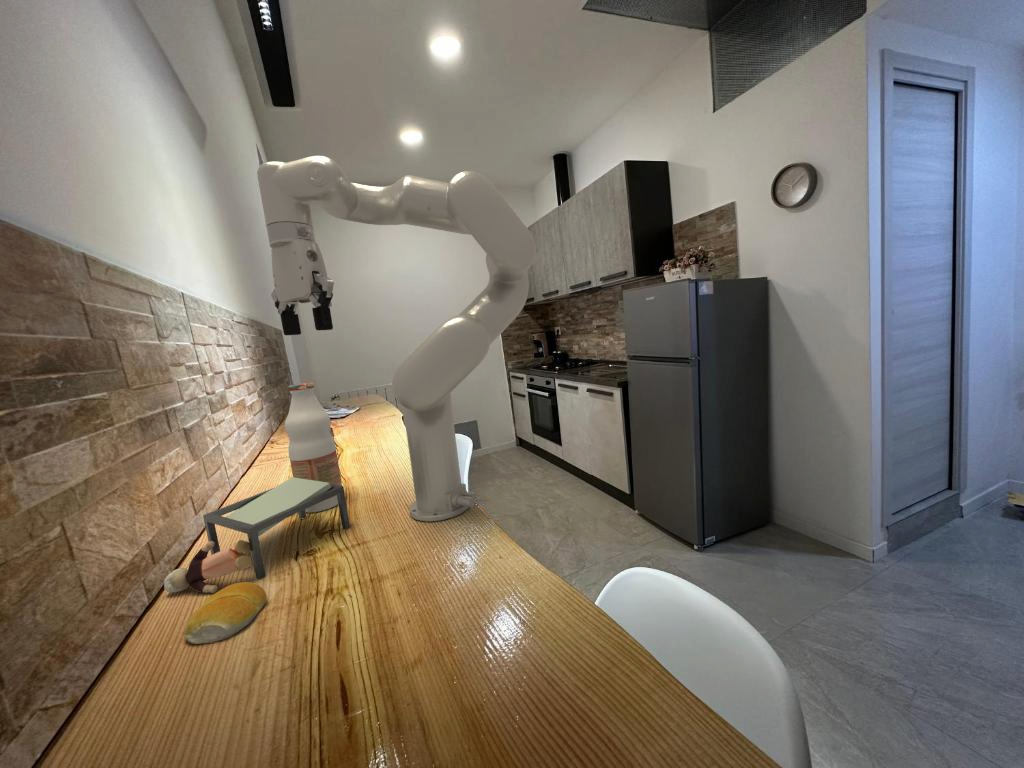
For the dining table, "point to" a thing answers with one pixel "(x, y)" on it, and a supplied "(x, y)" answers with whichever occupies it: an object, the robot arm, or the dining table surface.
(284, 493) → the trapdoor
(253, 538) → the miniature green-top table
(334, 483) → the fruit juice
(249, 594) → the bread roll
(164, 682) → the dining table surface
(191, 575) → the grandmother figurine
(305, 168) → the robot arm
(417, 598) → the dining table surface
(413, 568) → the dining table surface
